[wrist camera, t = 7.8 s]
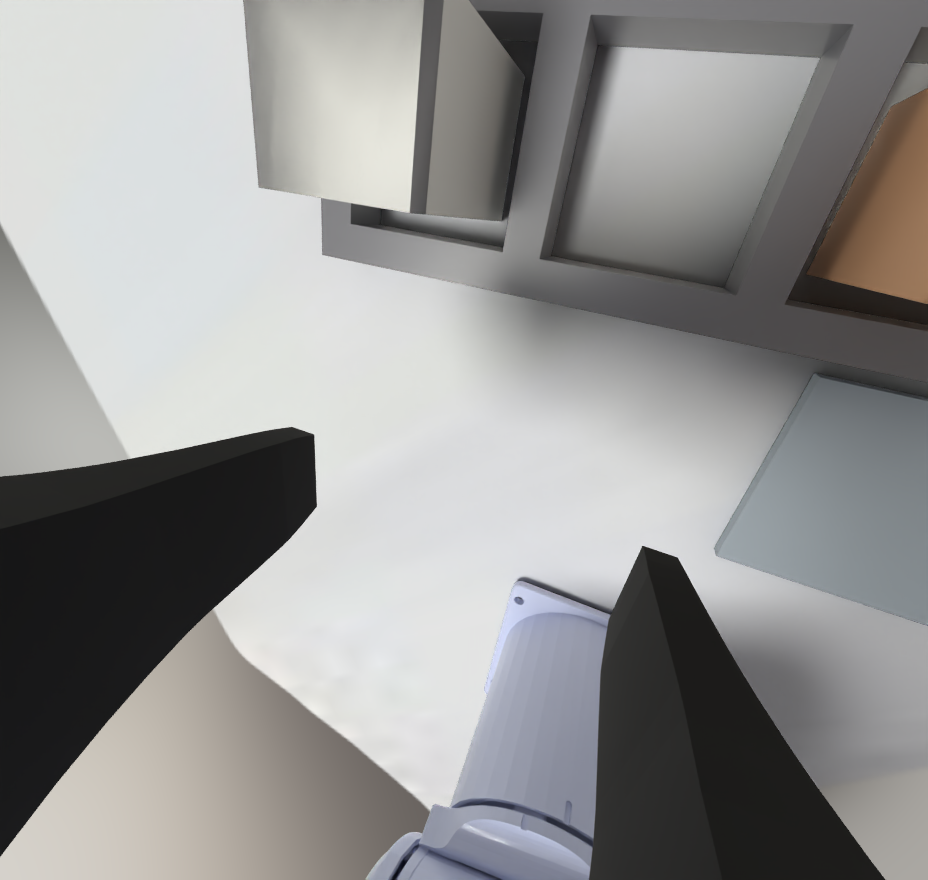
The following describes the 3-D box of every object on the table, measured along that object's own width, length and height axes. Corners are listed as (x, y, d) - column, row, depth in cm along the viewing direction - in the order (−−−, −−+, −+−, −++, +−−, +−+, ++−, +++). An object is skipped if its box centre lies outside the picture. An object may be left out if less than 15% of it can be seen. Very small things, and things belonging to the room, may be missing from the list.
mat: (938, 621, 15) (946, 632, 15) (714, 548, 17) (716, 555, 17) (1123, 440, 12) (1142, 448, 11) (814, 373, 13) (819, 377, 13)
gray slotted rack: (1009, 387, 12) (1071, 413, 10) (353, 252, 17) (322, 254, 16) (1327, 2, 8) (1508, -60, 6) (356, -19, 13) (316, -55, 12)
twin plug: (501, 221, 15) (409, 212, 9) (400, 204, 16) (258, 187, 10) (524, 76, 13) (427, -56, 7) (408, 67, 14) (238, -54, 8)
